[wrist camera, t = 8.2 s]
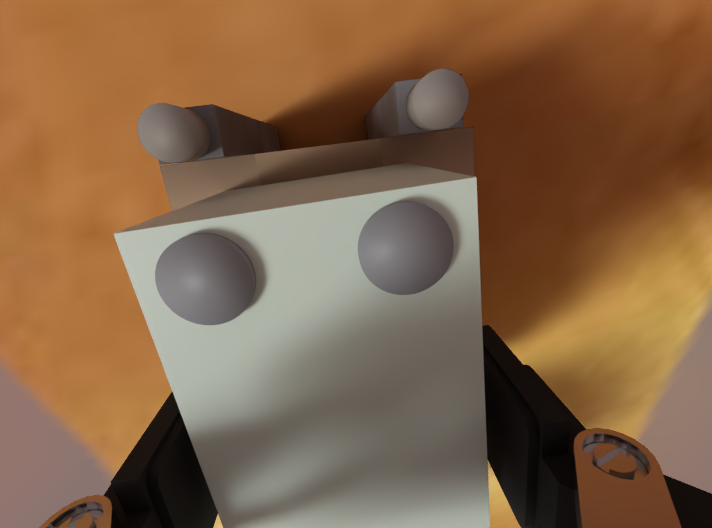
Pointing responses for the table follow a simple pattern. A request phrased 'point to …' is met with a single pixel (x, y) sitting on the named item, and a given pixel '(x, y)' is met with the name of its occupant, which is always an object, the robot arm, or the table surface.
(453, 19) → the table surface
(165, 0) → the table surface
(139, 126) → the brown boxy piece
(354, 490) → the white block with knobs
